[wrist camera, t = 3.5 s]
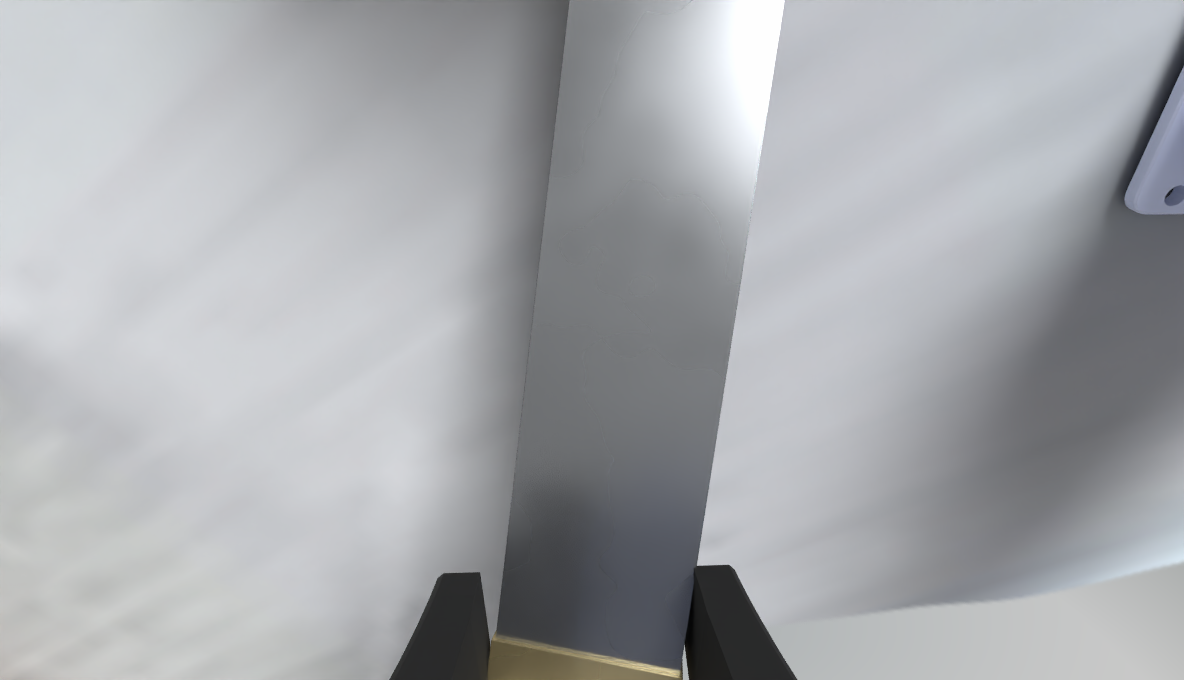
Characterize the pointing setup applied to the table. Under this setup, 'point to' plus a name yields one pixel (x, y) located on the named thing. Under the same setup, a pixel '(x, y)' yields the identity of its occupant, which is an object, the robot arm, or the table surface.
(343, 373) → the table surface
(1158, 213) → the robot arm
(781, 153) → the table surface
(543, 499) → the dark grey bar
